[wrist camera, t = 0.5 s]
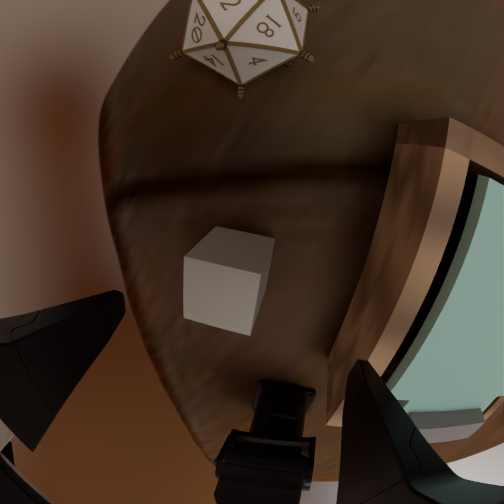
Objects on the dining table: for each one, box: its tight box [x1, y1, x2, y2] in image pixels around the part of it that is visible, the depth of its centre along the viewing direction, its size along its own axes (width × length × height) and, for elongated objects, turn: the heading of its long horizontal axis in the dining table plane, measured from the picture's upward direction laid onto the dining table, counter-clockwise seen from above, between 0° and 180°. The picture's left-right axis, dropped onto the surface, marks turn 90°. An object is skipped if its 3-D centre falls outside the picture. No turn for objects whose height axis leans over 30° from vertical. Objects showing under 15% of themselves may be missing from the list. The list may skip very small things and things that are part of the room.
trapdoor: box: [386, 174, 504, 443], centre depth 10 cm, size 18×14×3 cm
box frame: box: [326, 117, 504, 427], centre depth 15 cm, size 22×18×8 cm
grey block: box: [183, 226, 275, 336], centre depth 20 cm, size 5×5×6 cm
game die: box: [169, 0, 320, 99], centre depth 12 cm, size 9×8×10 cm
